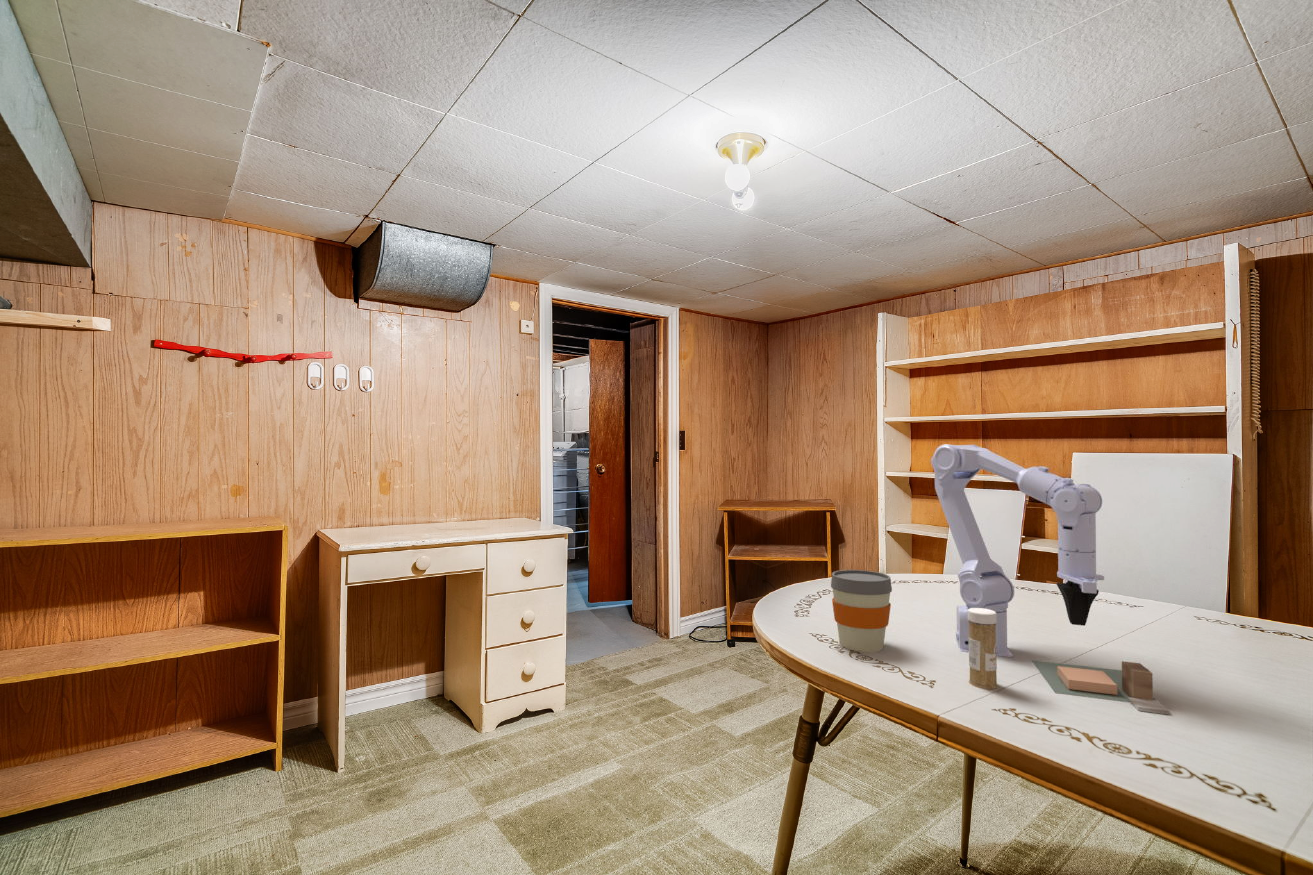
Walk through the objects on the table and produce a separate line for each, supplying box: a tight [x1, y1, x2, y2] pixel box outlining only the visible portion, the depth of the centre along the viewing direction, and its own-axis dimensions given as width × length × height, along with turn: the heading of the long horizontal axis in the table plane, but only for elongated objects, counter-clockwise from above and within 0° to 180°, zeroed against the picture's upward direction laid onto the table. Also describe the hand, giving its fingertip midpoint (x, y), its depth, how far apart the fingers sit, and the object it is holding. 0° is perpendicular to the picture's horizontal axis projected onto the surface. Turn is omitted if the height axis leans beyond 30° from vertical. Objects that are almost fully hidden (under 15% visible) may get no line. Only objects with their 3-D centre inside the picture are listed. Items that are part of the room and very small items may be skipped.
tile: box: [1057, 666, 1117, 695], centre depth 105 cm, size 7×2×7 cm
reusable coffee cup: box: [830, 569, 893, 653], centre depth 128 cm, size 13×13×15 cm
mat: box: [1031, 660, 1158, 703], centre depth 107 cm, size 15×17×1 cm
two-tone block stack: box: [1121, 660, 1170, 715], centre depth 98 cm, size 9×4×5 cm, turn 159°
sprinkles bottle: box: [968, 608, 998, 690], centre depth 106 cm, size 5×5×14 cm
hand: (1077, 624), depth 109 cm, fingers closed
